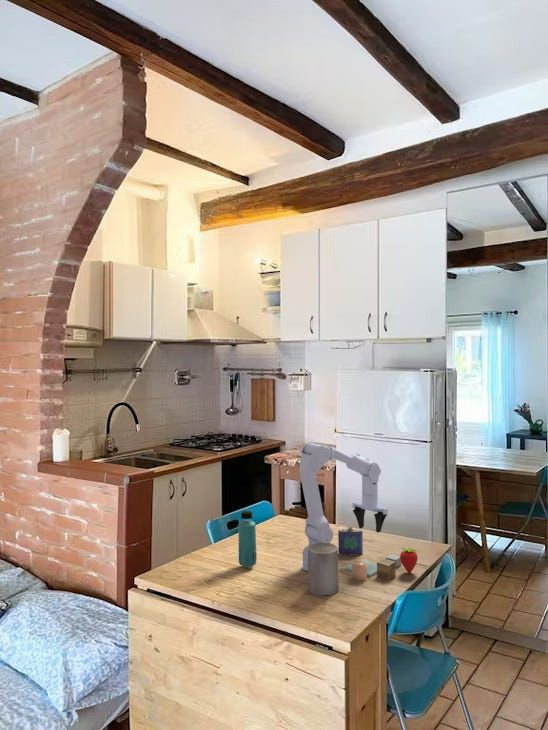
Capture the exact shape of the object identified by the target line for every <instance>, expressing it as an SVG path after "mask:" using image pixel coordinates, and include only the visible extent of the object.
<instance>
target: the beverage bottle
mask: <svg viewBox="0 0 548 730" xmlns="http://www.w3.org/2000/svg"><path fill="white" fill-rule="evenodd" d="M240 514H241V515H240V518H241V519H242V520H241V521H239V523H238V524H237V527H238V529H237V530H238V554H237V555H238V564H239V565H240V566H241V567H253V566H255V565H256V564H257V535H256V534H257V533H256V530H257V529H256V527H257V526H256V522H255V521H253V520H251V519H253V511H251V510H243V511H241V513H240Z"/></svg>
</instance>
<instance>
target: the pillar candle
mask: <svg viewBox="0 0 548 730" xmlns="http://www.w3.org/2000/svg"><path fill="white" fill-rule="evenodd" d="M307 546H308V545H307ZM338 550H339V549H338V546H337V545H336V544H333V543H331V542H330V543H314V544H311V545H310V546H308V571H307V572H308V573H307V575H308V576H307V577H308V580H307V581H308V583H307V584H308V591H309V593H311V594H313V595H316V596H332V595H335V594H337V593H338V592H339V588H340V587H339V586H340V583H339V552H338Z"/></svg>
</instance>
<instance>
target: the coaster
mask: <svg viewBox="0 0 548 730" xmlns="http://www.w3.org/2000/svg"><path fill="white" fill-rule="evenodd" d="M359 561H364V562H366V563H367V577H369V578H370V577H372V576H374V575H377V562H376V563H374V562H372V561H370V560H369V561H368V560H365V559H360V560H359ZM346 570H347V571H350V572H352V564H350V565H347V566H346V567H345V571H346Z"/></svg>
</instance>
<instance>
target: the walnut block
mask: <svg viewBox="0 0 548 730" xmlns="http://www.w3.org/2000/svg"><path fill="white" fill-rule="evenodd" d="M376 564H377V573H376V577H377V578H380V579H383V580H386V581H390V580H391V579H393V578H395V577H396V575H397V573H396V568H397V567H396V562H394V561H390V560H386V558H383V559H381V560H379V561H377V562H376Z"/></svg>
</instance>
